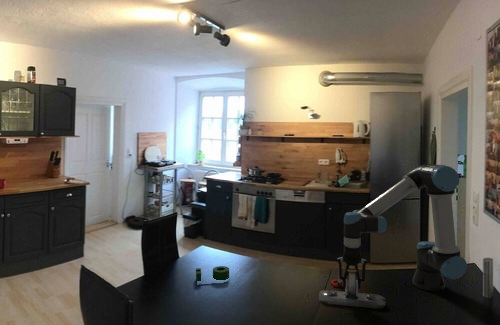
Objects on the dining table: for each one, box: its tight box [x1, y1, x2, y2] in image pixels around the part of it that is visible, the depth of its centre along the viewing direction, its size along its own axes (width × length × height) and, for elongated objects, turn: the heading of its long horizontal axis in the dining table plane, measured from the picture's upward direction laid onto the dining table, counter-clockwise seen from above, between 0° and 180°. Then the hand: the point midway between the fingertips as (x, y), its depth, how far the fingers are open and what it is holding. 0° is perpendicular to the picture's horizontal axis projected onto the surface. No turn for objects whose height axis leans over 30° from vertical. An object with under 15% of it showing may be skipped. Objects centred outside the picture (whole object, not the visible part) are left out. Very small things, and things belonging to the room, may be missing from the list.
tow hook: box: [330, 276, 345, 289], centre depth 180 cm, size 8×13×9 cm
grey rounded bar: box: [318, 289, 386, 309], centre depth 159 cm, size 30×8×4 cm, turn 77°
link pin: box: [346, 266, 357, 299], centre depth 159 cm, size 5×5×14 cm
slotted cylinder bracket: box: [195, 265, 230, 282], centre depth 185 cm, size 18×9×6 cm, turn 101°
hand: (351, 294), depth 159 cm, fingers closed on link pin, 4 cm apart
